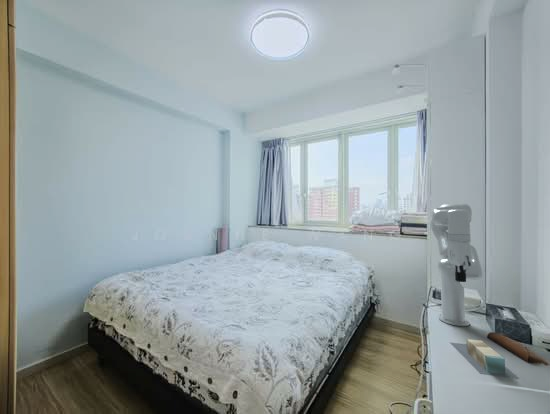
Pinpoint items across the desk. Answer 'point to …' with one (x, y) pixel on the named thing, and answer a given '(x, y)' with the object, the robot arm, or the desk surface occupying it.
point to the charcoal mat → (463, 351)
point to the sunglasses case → (516, 348)
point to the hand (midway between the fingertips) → (460, 281)
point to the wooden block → (486, 356)
